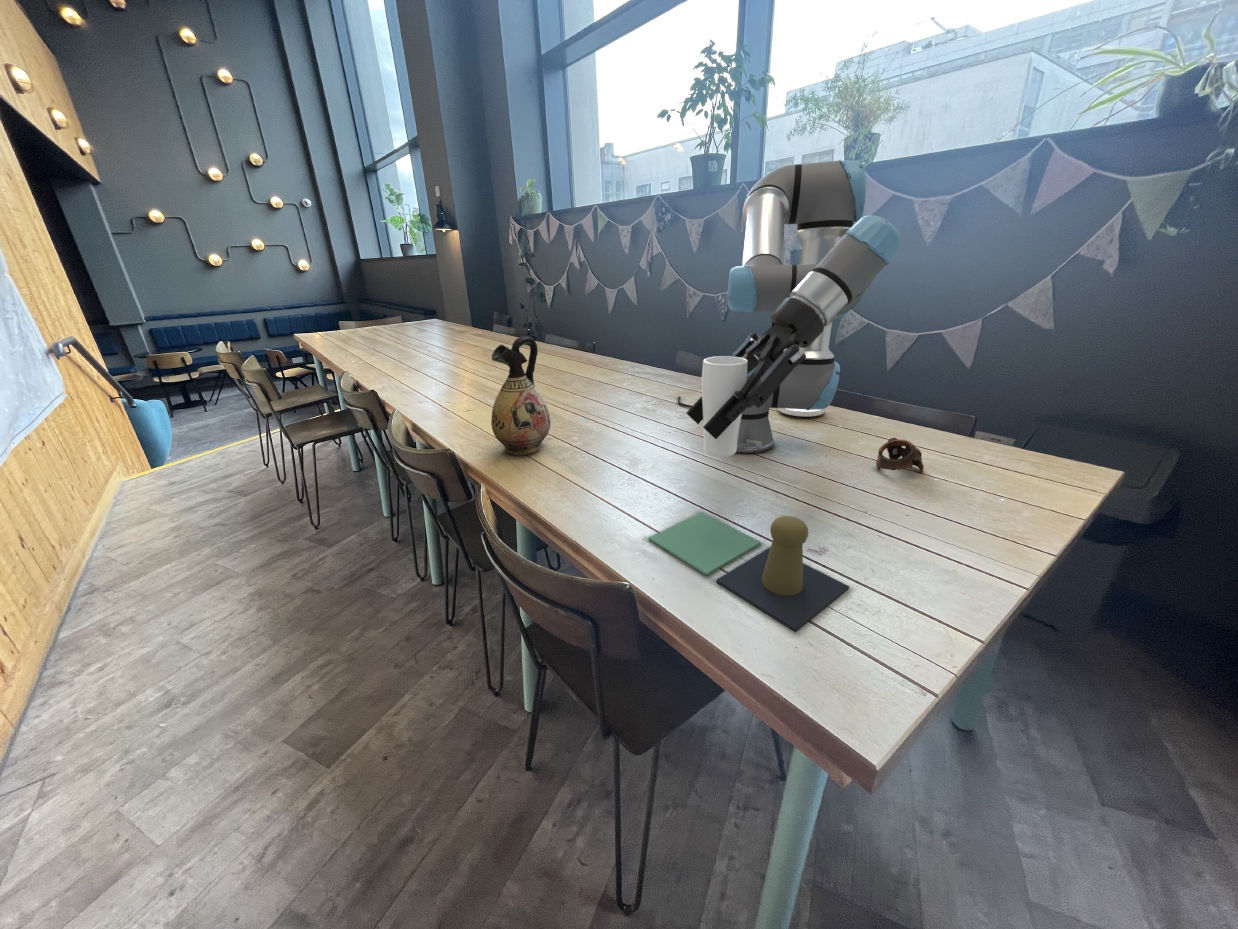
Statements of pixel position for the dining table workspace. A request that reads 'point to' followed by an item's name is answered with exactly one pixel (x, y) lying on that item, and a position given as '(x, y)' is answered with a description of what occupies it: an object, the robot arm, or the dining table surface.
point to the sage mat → (704, 543)
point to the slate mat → (783, 608)
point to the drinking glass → (721, 399)
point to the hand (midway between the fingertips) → (700, 425)
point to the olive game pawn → (785, 556)
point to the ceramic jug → (519, 402)
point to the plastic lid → (801, 412)
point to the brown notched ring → (899, 455)
